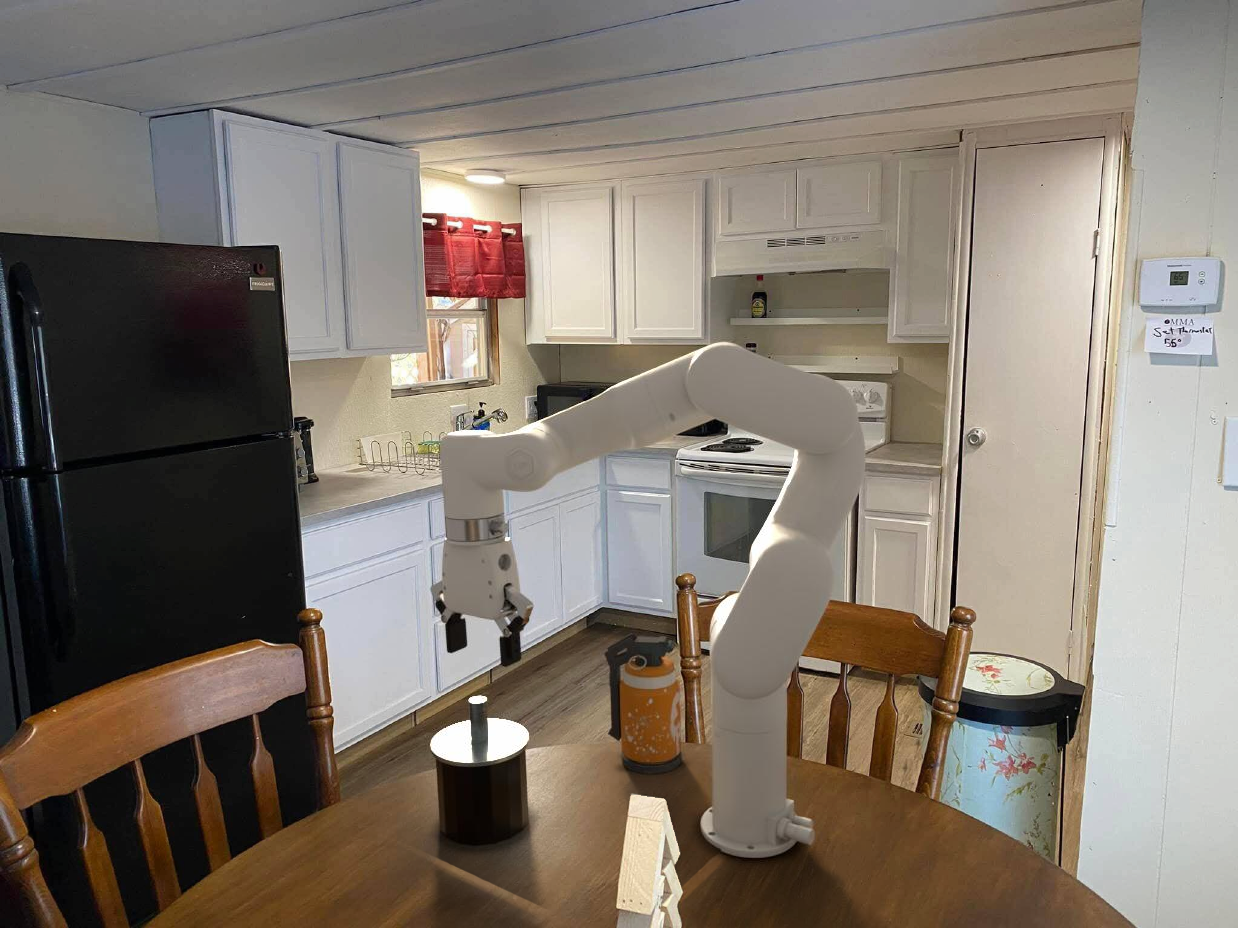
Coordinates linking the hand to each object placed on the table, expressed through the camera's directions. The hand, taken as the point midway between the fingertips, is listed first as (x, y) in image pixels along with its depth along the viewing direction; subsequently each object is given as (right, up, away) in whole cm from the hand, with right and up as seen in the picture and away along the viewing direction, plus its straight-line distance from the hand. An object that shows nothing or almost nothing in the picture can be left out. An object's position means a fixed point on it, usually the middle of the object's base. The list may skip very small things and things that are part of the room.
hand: (483, 656), depth 118 cm
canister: (+22, -20, +19) cm, 35 cm away
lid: (-1, -12, +1) cm, 12 cm away
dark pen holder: (0, -23, +3) cm, 23 cm away
